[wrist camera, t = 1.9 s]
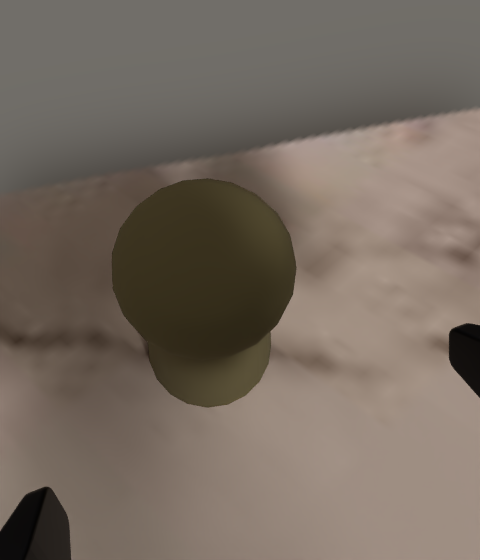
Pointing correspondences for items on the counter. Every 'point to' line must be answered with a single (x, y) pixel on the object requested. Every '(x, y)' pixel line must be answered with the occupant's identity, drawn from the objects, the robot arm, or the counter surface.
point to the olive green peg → (204, 286)
